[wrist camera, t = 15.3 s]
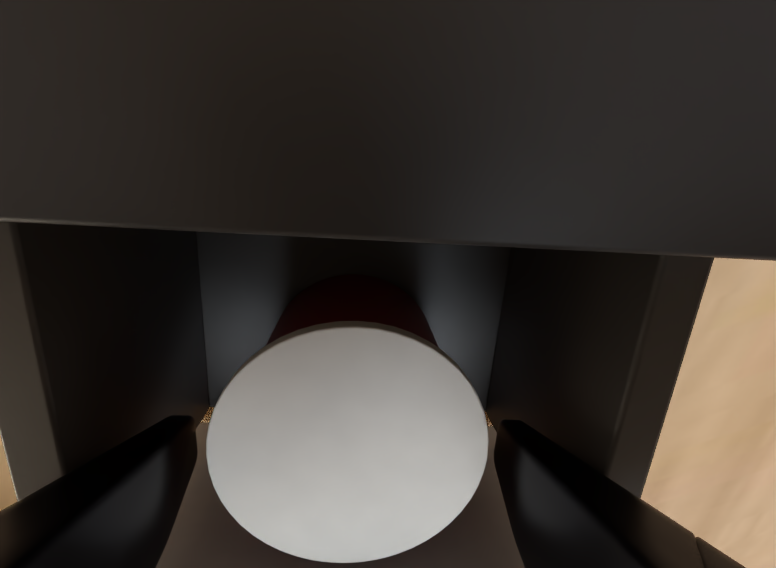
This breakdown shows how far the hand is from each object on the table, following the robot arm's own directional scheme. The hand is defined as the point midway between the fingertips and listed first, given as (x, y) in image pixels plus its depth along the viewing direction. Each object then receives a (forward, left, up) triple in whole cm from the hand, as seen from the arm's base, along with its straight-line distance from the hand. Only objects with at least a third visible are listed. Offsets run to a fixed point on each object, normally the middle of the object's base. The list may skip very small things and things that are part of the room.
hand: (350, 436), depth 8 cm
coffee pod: (0, 0, -4) cm, 4 cm away
